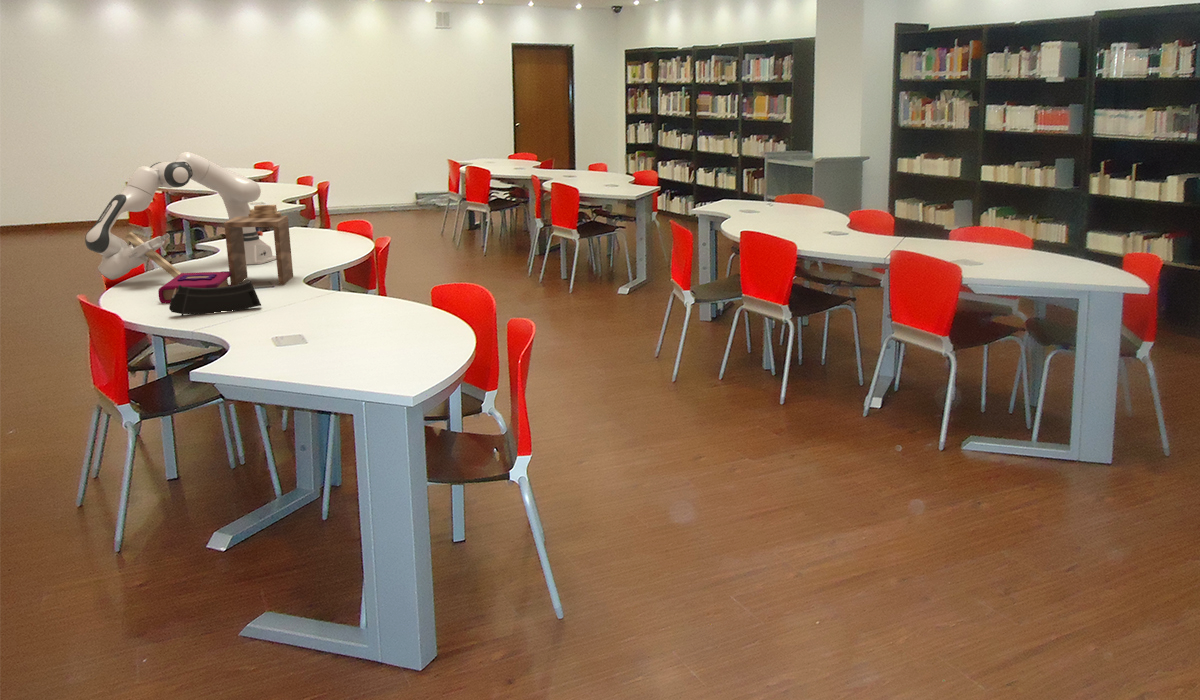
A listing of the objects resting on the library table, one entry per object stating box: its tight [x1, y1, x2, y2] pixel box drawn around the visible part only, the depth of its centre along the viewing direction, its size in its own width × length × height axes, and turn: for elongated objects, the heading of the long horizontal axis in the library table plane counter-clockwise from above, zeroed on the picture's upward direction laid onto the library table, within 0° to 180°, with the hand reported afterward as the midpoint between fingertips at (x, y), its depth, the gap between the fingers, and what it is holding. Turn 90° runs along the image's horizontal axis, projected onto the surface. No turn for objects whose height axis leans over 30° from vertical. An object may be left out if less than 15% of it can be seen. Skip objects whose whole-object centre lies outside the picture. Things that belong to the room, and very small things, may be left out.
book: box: [158, 270, 233, 304], centre depth 375 cm, size 21×28×8 cm
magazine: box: [168, 280, 262, 317], centre depth 346 cm, size 17×3×30 cm
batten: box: [125, 231, 182, 279], centre depth 396 cm, size 28×3×2 cm
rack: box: [223, 204, 294, 286], centre depth 399 cm, size 21×19×31 cm
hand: (164, 236), depth 394 cm, fingers open, 8 cm apart
